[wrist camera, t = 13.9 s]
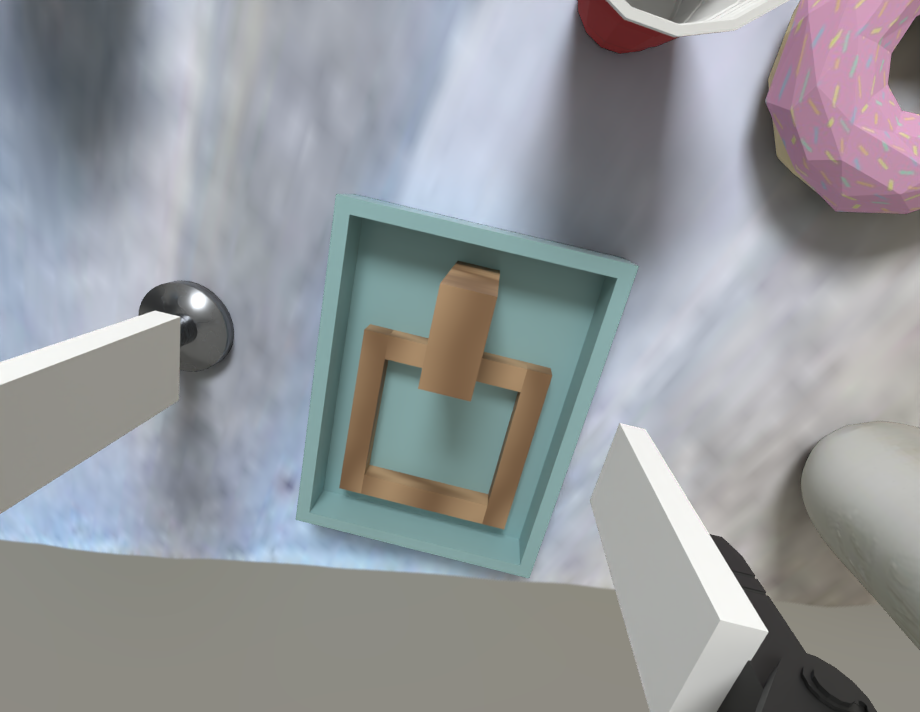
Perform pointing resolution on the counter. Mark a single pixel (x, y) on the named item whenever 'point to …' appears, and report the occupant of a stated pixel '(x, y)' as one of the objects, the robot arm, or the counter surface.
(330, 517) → the tray
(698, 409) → the counter surface
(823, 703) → the robot arm
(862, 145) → the donut
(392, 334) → the ring
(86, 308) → the counter surface
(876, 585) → the glass bottle
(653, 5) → the plastic cup
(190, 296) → the grey metal stand
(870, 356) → the counter surface
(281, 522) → the counter surface
